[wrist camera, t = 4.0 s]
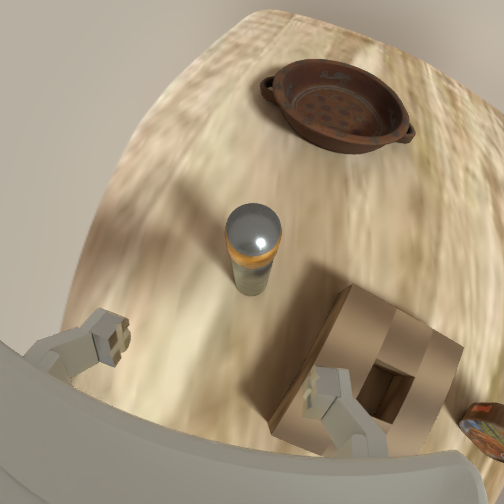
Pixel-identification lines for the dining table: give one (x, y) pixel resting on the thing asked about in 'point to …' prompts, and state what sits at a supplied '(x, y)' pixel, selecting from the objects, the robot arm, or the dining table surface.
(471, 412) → the tin
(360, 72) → the dish
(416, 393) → the brown square frame
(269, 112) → the dining table surface
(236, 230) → the grey upright cylinder
